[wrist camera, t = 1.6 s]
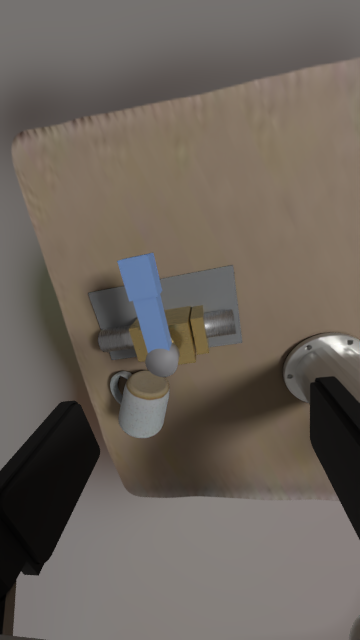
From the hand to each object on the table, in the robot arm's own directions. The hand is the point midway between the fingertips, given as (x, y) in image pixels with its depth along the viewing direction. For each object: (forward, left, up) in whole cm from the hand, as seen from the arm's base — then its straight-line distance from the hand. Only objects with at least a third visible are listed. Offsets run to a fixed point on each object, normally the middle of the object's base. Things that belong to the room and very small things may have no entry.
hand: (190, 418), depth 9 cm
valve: (+6, +5, -24) cm, 26 cm away
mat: (+6, +4, -25) cm, 26 cm away
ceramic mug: (+13, +16, -25) cm, 33 cm away
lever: (+5, 0, -16) cm, 17 cm away
